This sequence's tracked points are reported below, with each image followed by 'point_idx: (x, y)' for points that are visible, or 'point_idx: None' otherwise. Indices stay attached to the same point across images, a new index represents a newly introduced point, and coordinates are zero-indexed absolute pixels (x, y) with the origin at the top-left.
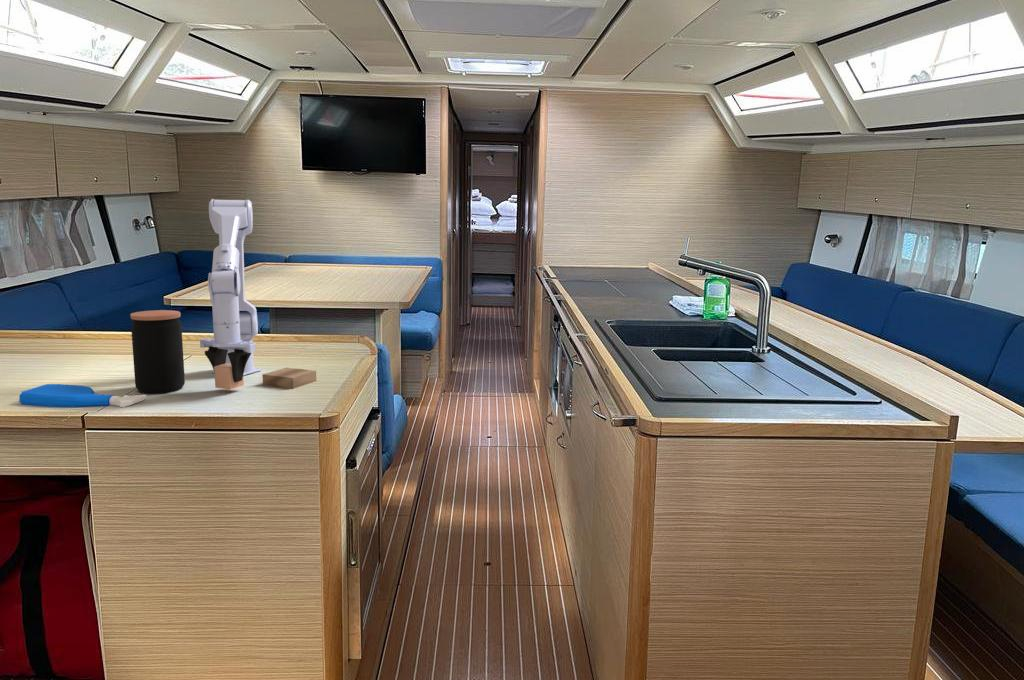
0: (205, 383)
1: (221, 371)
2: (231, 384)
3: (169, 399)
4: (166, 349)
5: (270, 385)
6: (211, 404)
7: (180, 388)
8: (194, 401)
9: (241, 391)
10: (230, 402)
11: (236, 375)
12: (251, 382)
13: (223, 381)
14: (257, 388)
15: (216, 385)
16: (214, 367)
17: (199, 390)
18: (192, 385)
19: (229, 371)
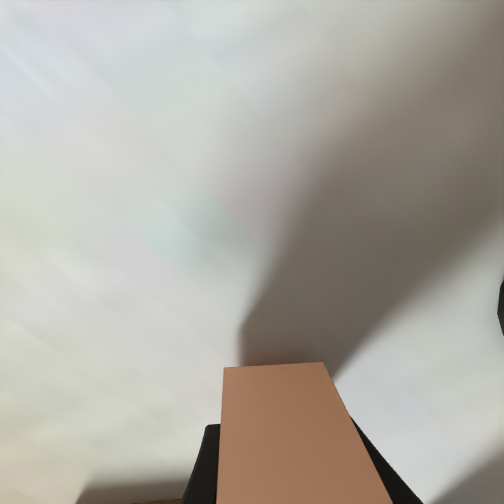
0: (449, 420)
1: (302, 471)
2: (223, 397)
3: (445, 139)
4: None
5: None
6: (148, 153)
7: (501, 314)
8: (287, 166)
9: None
10: (93, 237)
11: (193, 474)
12: None
13: (274, 399)
14: None
15: (319, 371)
16: (388, 499)
17: (406, 338)
18: (482, 380)
19: (219, 490)
